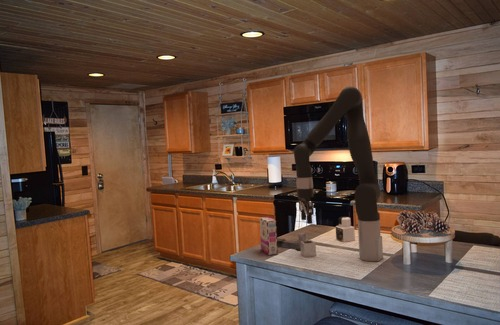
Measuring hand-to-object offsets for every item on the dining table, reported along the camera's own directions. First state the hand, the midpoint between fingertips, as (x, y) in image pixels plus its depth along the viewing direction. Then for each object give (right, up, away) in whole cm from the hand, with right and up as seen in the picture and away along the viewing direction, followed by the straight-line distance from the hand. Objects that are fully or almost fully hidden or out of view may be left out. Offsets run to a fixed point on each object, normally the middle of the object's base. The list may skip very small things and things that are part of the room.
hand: (306, 221), depth 177 cm
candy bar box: (-17, -16, +9) cm, 25 cm away
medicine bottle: (+24, -13, +23) cm, 35 cm away
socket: (+1, -16, +1) cm, 16 cm away
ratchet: (-6, -15, +15) cm, 22 cm away
